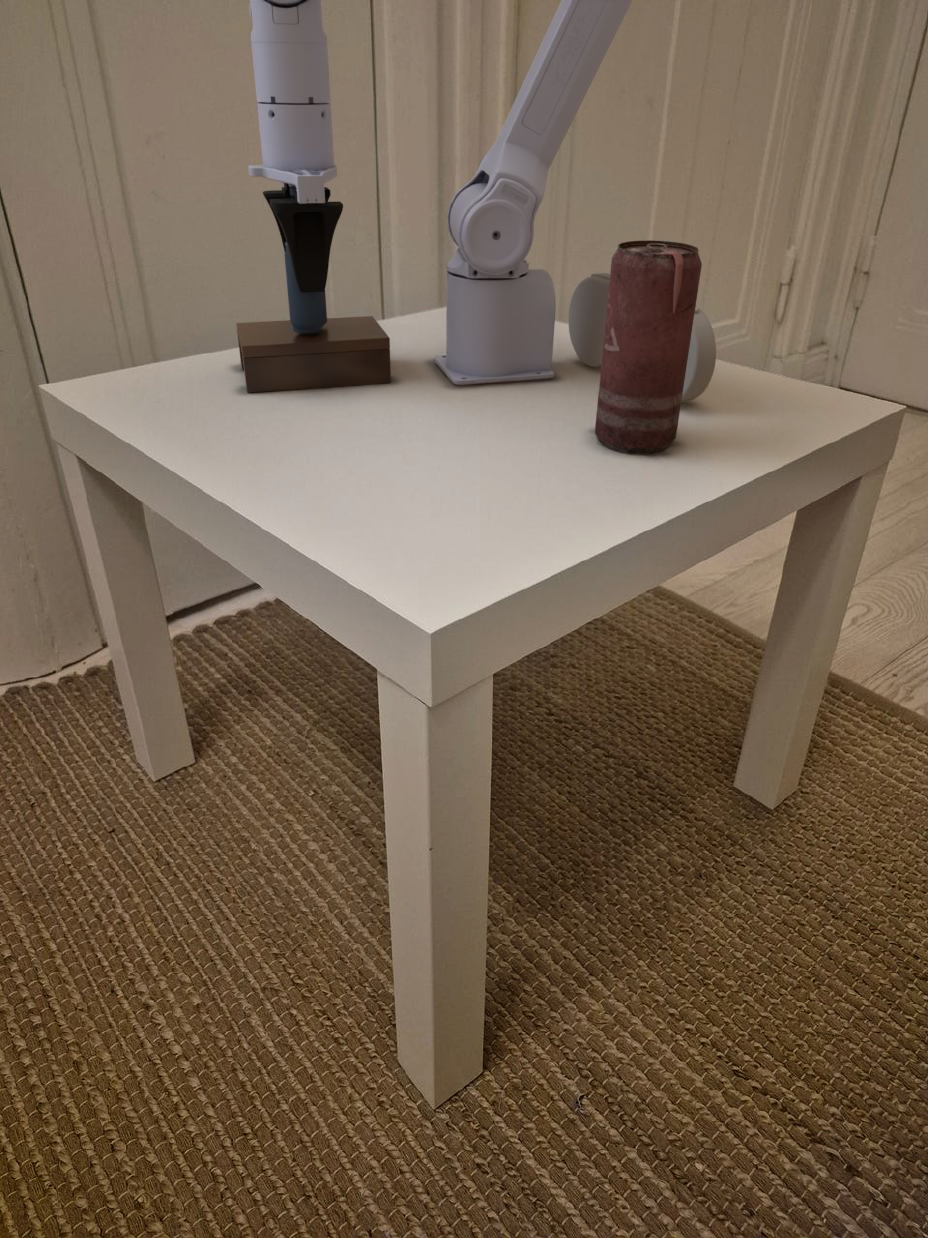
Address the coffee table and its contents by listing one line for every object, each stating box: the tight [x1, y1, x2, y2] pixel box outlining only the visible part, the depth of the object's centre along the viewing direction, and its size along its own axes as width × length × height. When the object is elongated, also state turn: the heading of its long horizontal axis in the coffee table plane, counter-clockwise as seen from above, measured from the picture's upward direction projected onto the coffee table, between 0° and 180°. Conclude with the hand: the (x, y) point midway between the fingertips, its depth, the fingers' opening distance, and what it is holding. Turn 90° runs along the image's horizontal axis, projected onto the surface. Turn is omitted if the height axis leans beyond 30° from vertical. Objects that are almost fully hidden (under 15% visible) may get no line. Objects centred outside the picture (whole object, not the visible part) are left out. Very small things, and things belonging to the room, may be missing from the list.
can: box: [594, 239, 703, 455], centre depth 64 cm, size 6×6×14 cm
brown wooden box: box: [235, 315, 392, 394], centre depth 80 cm, size 13×8×4 cm, turn 106°
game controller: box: [568, 272, 717, 403], centre depth 79 cm, size 20×2×8 cm, turn 26°
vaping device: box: [284, 187, 328, 334], centre depth 76 cm, size 3×5×12 cm, turn 175°
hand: (307, 284), depth 77 cm, fingers closed on vaping device, 5 cm apart
